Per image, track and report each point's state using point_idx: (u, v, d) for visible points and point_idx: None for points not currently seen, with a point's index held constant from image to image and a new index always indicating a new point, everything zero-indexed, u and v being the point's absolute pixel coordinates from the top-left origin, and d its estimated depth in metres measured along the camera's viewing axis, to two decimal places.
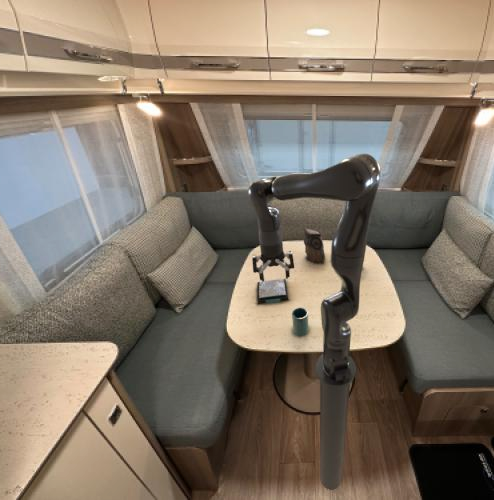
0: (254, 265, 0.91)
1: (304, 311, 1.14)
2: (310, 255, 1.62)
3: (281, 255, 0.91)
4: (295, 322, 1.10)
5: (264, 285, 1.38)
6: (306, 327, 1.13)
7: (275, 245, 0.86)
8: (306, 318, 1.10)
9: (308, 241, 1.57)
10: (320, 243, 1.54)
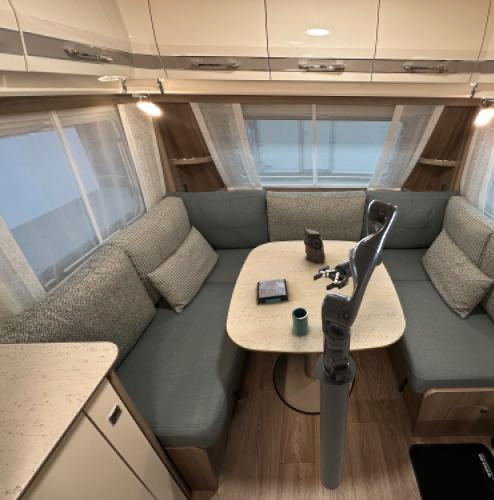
0: (323, 267, 1.20)
1: (304, 311, 1.14)
2: (310, 255, 1.62)
3: (342, 275, 1.15)
4: (295, 322, 1.10)
5: (264, 285, 1.38)
6: (306, 327, 1.13)
7: (349, 264, 1.18)
8: (306, 318, 1.10)
9: (308, 241, 1.57)
10: (320, 243, 1.54)
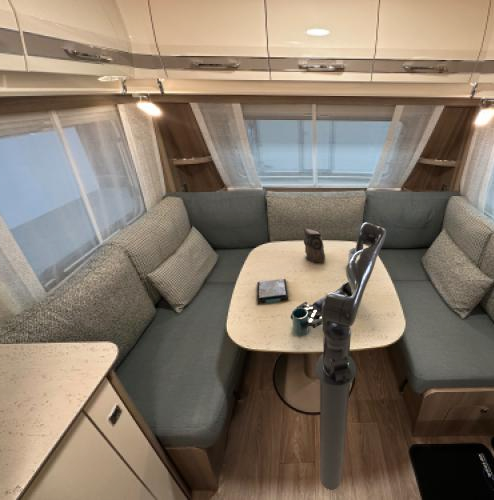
0: (301, 305, 1.19)
1: (304, 311, 1.14)
2: (310, 255, 1.62)
3: (320, 313, 1.15)
4: (295, 322, 1.10)
5: (264, 285, 1.38)
6: None
7: None
8: (306, 318, 1.10)
9: (308, 241, 1.57)
10: (320, 243, 1.54)
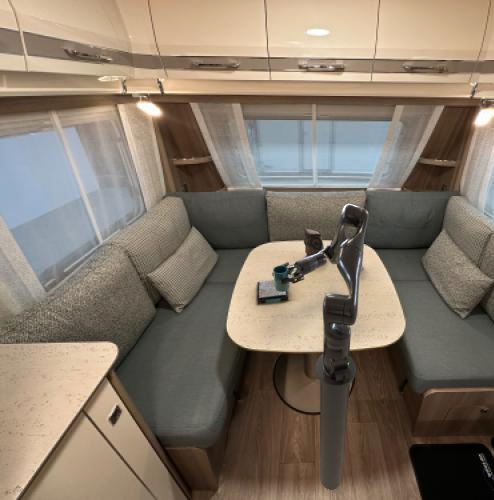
0: (283, 264, 1.26)
1: (285, 268, 1.20)
2: (310, 255, 1.62)
3: (300, 271, 1.22)
4: (275, 278, 1.17)
5: (264, 285, 1.38)
6: (286, 283, 1.19)
7: (307, 260, 1.24)
8: (286, 274, 1.17)
9: (308, 241, 1.57)
10: (320, 243, 1.54)
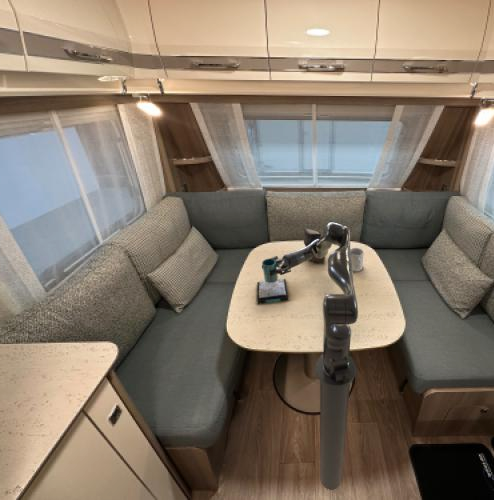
0: (272, 258, 1.37)
1: (273, 261, 1.31)
2: None
3: (287, 263, 1.33)
4: (264, 269, 1.28)
5: (264, 285, 1.38)
6: (275, 275, 1.30)
7: (294, 254, 1.35)
8: (274, 266, 1.28)
9: (308, 241, 1.57)
10: None
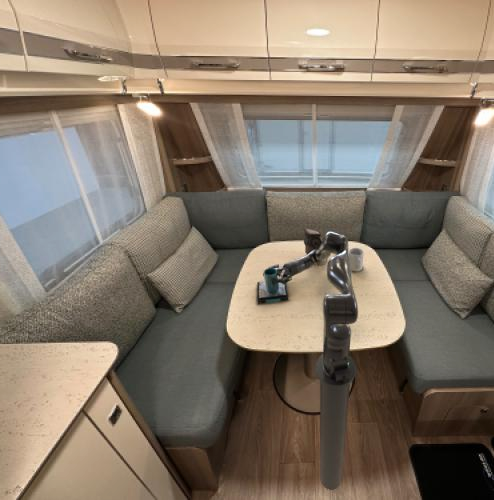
0: (273, 266, 1.40)
1: (274, 271, 1.34)
2: None
3: (287, 272, 1.35)
4: (266, 279, 1.31)
5: (264, 285, 1.38)
6: (276, 284, 1.33)
7: (294, 263, 1.38)
8: (275, 275, 1.31)
9: (308, 241, 1.57)
10: (320, 243, 1.54)
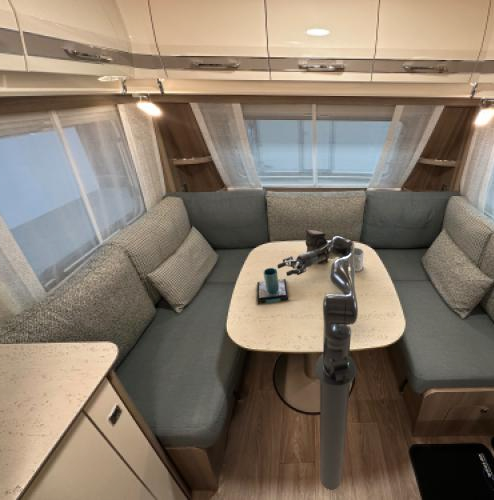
0: (287, 258, 1.42)
1: (274, 271, 1.34)
2: None
3: (302, 264, 1.37)
4: (266, 279, 1.31)
5: (264, 285, 1.38)
6: (276, 284, 1.33)
7: (308, 255, 1.40)
8: (275, 275, 1.31)
9: (312, 242, 1.56)
10: (325, 242, 1.54)
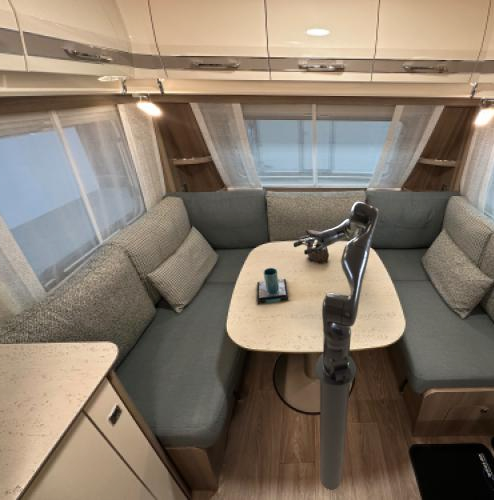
0: (303, 236, 1.29)
1: (274, 271, 1.34)
2: (314, 256, 1.61)
3: (320, 242, 1.24)
4: (266, 279, 1.31)
5: (264, 285, 1.38)
6: (276, 284, 1.33)
7: (327, 233, 1.27)
8: (275, 275, 1.31)
9: None
10: None
